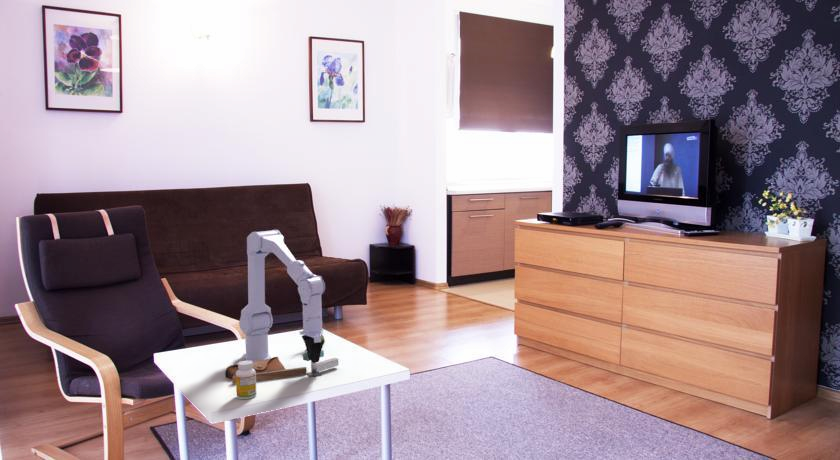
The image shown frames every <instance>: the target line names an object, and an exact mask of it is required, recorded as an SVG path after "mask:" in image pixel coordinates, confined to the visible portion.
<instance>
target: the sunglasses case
mask: <svg viewBox="0 0 840 460" xmlns="http://www.w3.org/2000/svg"><path fill="white" fill-rule="evenodd" d="M252 368H253V369H254V370H255V372H256V373H263V372H270V371H278V370H285V369H286V368H285V366H284V364H283V363H282V362H281V361H280V359H279V357H278V356H274V357H271V358H270V359H266V360H260V361H255V362H253V367H252ZM238 370H239V369H238V364H234V365H233V364H232V365H230V366H227V367H226V369H225V372H224V374H225V378H227V380H230V381H232V382H233V376H236V372H237V371H238Z"/></svg>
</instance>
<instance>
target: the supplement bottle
mask: <svg viewBox="0 0 840 460" xmlns="http://www.w3.org/2000/svg"><path fill="white" fill-rule="evenodd" d="M237 365H238V369H239V370H238V371H237V372H236V384H235V386H236V388H235V389H236V398H237V399H239V400H249V399H253V398H256V396H257V381H256V372H255V370H254V369H253V368H252V367H253V362H252V361H246V360H241V361H239V362H238V363H237Z"/></svg>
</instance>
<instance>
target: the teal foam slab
mask: <svg viewBox="0 0 840 460" xmlns="http://www.w3.org/2000/svg"><path fill="white" fill-rule="evenodd" d="M324 352H325V350H323V349H321V353H320V358H323V357H324V356H325V354H324ZM302 360H303V361H306V362H310V367H311V369H310V370H311V371H310V372H311V373H317V372H319V373H320V372H322V371H325V370H328V369H329V370H330V369H331V368H335V367H338V366H339V358H336V357H332V358H328V359H326V360H323V361H319V362H314V363H312V361H311V357H310V352H308V353H307V352H305V353H303V354H302Z"/></svg>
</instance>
